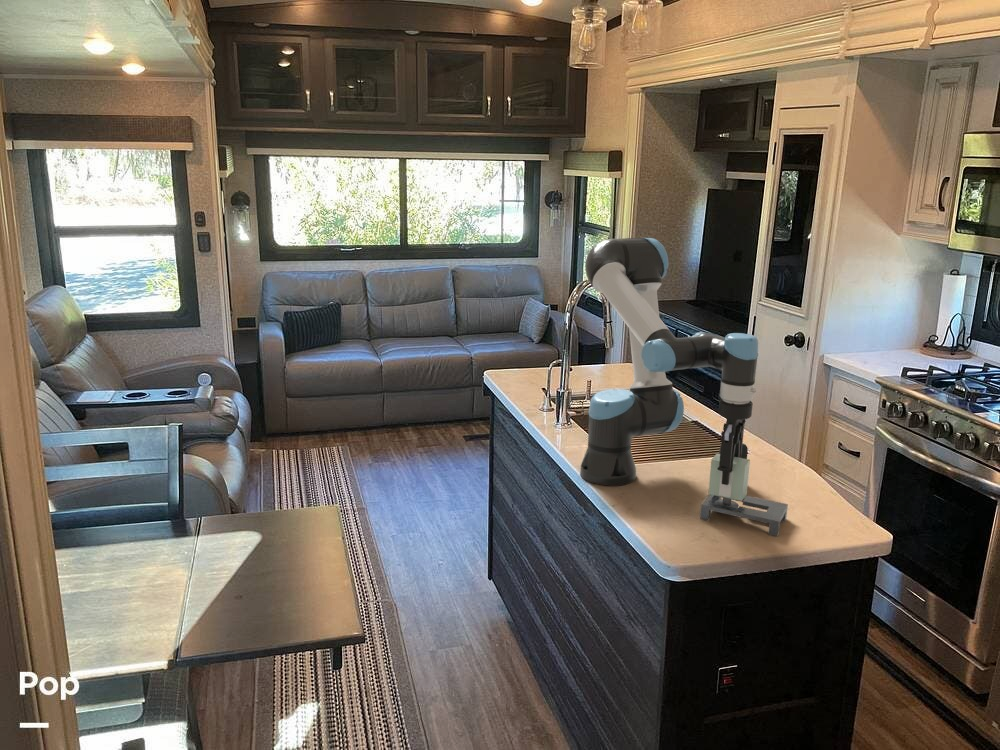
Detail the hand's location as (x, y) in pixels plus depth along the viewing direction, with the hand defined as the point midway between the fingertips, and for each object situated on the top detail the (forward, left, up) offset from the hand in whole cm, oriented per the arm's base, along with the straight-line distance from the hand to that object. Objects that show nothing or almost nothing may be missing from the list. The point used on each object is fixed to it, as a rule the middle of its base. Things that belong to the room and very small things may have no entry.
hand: (727, 491), depth 190 cm
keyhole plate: (+4, 0, -6) cm, 7 cm away
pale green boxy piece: (0, 0, -4) cm, 4 cm away
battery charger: (-4, +22, -6) cm, 23 cm away
